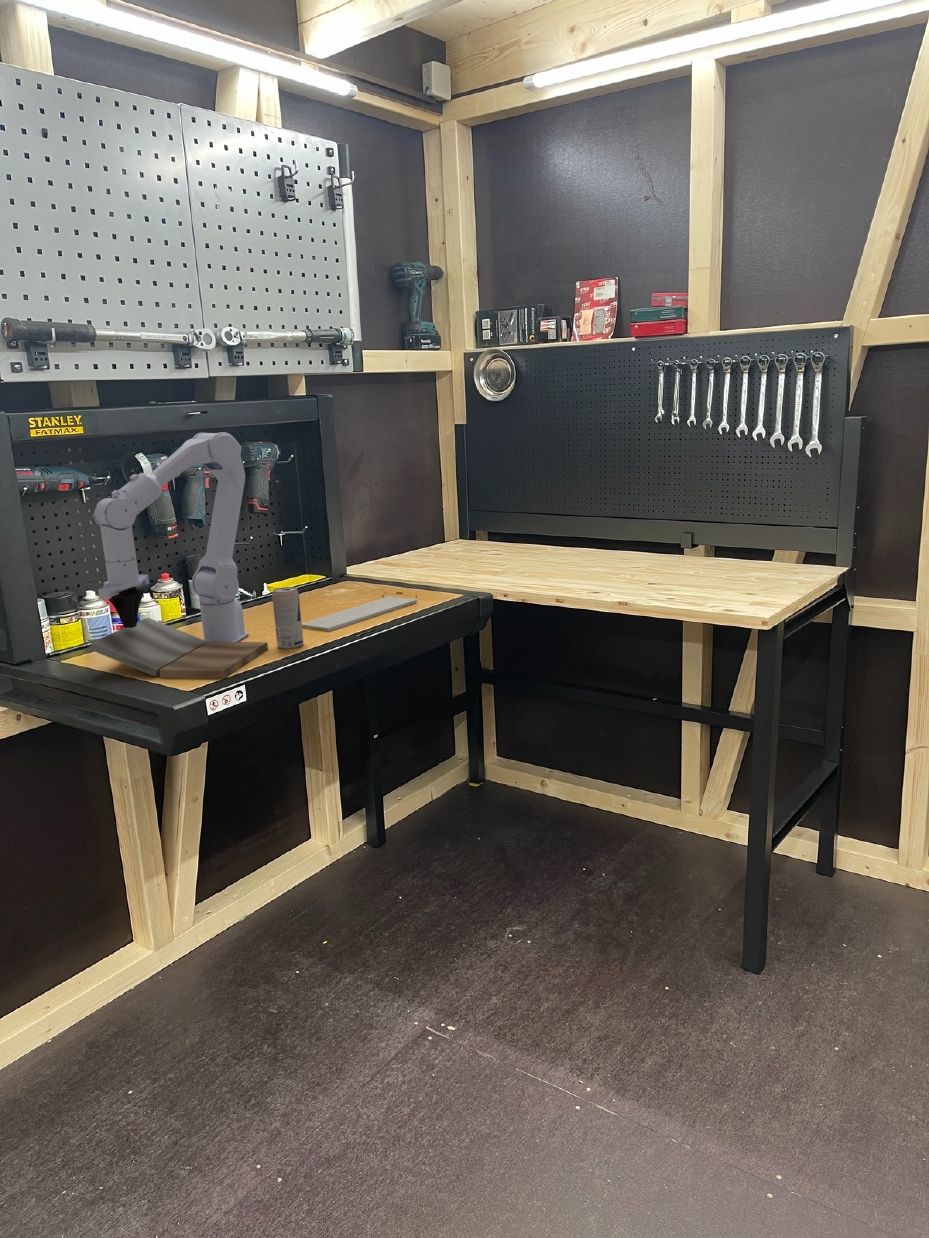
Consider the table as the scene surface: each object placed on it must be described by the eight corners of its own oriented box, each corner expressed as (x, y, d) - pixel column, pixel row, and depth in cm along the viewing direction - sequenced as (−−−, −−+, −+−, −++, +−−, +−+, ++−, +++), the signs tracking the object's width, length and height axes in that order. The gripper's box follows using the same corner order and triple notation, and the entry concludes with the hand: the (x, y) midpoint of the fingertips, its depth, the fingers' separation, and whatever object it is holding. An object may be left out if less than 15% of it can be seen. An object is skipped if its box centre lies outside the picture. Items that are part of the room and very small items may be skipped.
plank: (145, 623, 194) (147, 617, 194) (205, 648, 193) (207, 641, 192) (89, 649, 175) (91, 642, 175) (155, 676, 174) (157, 669, 173)
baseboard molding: (290, 629, 209) (328, 635, 202) (289, 616, 208) (327, 622, 201) (381, 601, 233) (417, 605, 226) (380, 589, 232) (417, 594, 225)
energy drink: (305, 641, 194) (299, 586, 192) (301, 648, 189) (296, 591, 186) (279, 643, 194) (274, 587, 192) (275, 649, 189) (269, 592, 186)
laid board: (210, 649, 192) (209, 641, 192) (268, 649, 190) (267, 642, 189) (160, 677, 174) (159, 669, 173) (224, 678, 171) (223, 670, 170)
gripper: (123, 553, 188) (132, 618, 191) (80, 566, 174) (90, 636, 178) (154, 553, 187) (162, 618, 190) (113, 566, 173) (123, 636, 176)
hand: (130, 627), depth 184 cm, fingers closed
